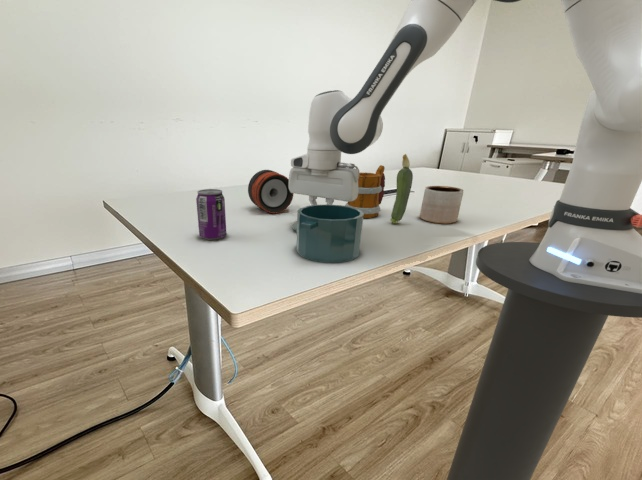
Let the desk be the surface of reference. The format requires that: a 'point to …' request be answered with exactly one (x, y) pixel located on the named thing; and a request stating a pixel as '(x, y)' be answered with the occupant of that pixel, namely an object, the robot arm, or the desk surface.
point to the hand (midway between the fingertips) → (320, 213)
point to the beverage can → (211, 214)
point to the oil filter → (270, 191)
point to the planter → (441, 204)
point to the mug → (369, 193)
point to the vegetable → (402, 190)
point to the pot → (329, 233)
